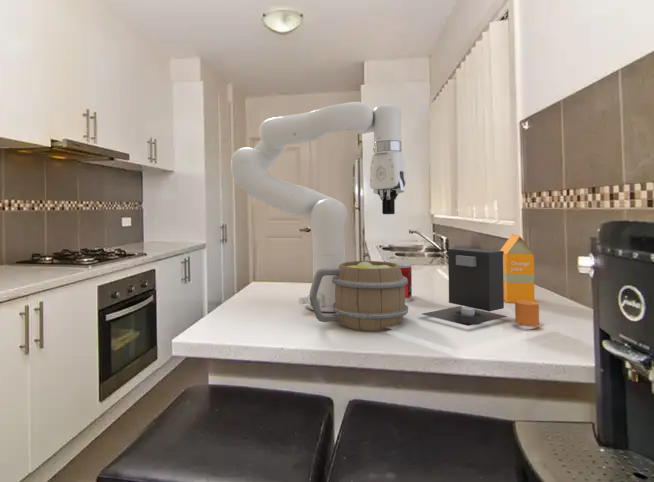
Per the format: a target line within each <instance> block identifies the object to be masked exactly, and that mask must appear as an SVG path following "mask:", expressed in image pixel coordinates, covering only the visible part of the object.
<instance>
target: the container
mask: <svg viewBox="0 0 654 482" xmlns="http://www.w3.org/2000/svg"><path fill="white" fill-rule="evenodd" d="M514 315H515V316H514V318H515V319H514V320H515V321H514V322H515V323H516V324H519V325H522V326H523V325H524V326H536V327H532V328H529V329H528V331H538V330H540V326H539V325H540V303H539V302H538V301H535V302H534V301H527V300H518V301H515V304H514Z"/></svg>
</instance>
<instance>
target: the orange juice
mask: <svg viewBox="0 0 654 482" xmlns="http://www.w3.org/2000/svg"><path fill="white" fill-rule="evenodd" d="M499 251H504V254H503V286H504V302H506V303H511V304H512V303H515V301H518V300H527V301H534V302H536V301H535V253H534V252H533V251H532V249H530V246H528V245H527V244H526V242H525V241H524V240H523V238H522V237H521V235H518V234H513V233H511V235H510V236H509V237H508V239H507V240H506V242H505V243H504V244H503V246H502V247H501V248H500V249H499Z"/></svg>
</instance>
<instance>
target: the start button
mask: <svg viewBox="0 0 654 482" xmlns="http://www.w3.org/2000/svg"><path fill="white" fill-rule="evenodd" d="M475 309H476V308H472V307H466V306H462V308H461V314H462V315H467V316H474V315H475Z"/></svg>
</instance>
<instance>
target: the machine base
mask: <svg viewBox="0 0 654 482" xmlns="http://www.w3.org/2000/svg"><path fill="white" fill-rule="evenodd" d="M462 307H463V306H462V305H458V306H453V307H448V308H443V309H438V310H433V311H429V312H423V313H422V315H423V316H427V317H431V318H435V319H439V320H444V321H447V322H451V323H454V324H459V325H463V326H467V327H470V326H474V325H480V324H482V323H486V322H491V321H495V320H499V319H503V318H507V317H508V316H507V315H504V314H499V313H494V312H491V311H485V310H481V309H476V308H474V309H475V315H474V316H467V315H462V314H461V308H462Z"/></svg>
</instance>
